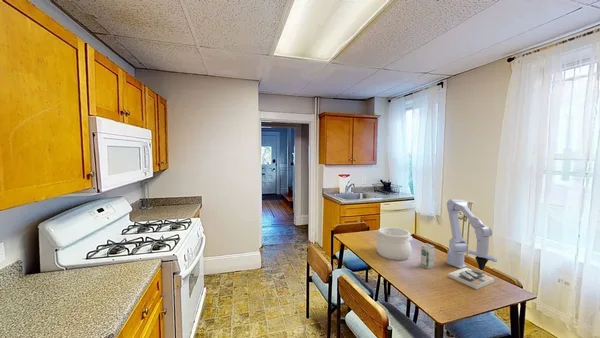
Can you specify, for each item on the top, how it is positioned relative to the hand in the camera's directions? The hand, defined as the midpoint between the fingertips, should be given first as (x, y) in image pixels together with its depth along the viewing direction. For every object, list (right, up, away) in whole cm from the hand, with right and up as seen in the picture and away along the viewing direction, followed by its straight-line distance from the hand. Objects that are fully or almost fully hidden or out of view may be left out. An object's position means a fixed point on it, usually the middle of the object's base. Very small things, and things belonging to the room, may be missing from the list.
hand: (481, 269), depth 149 cm
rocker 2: (-6, -3, 0) cm, 6 cm away
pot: (-39, -4, +36) cm, 53 cm away
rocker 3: (-1, -2, +2) cm, 3 cm away
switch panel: (-6, -6, 0) cm, 9 cm away
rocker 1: (-11, -3, -3) cm, 12 cm away
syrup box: (-24, -5, +17) cm, 30 cm away
